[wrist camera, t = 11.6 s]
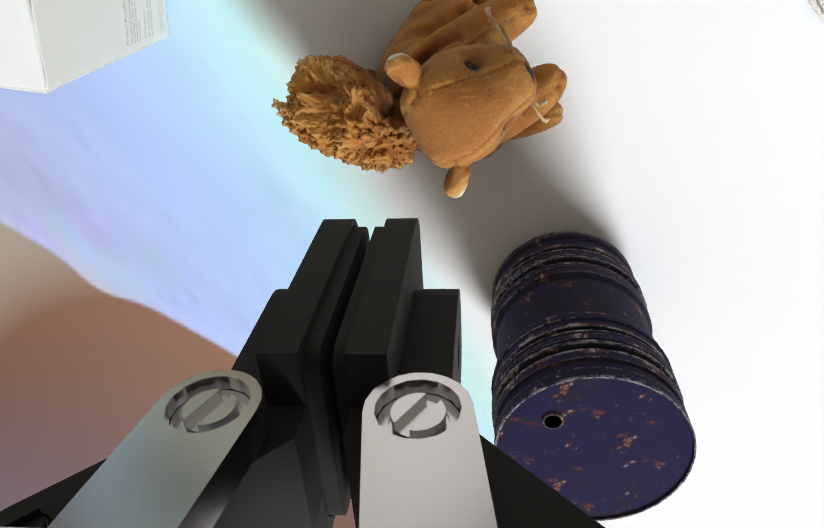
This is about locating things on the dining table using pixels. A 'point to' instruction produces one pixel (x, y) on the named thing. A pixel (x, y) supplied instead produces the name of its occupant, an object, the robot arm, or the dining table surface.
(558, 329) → the dark blue barrel
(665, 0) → the dining table surface
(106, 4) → the supplement box
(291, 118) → the stuffed squirrel
